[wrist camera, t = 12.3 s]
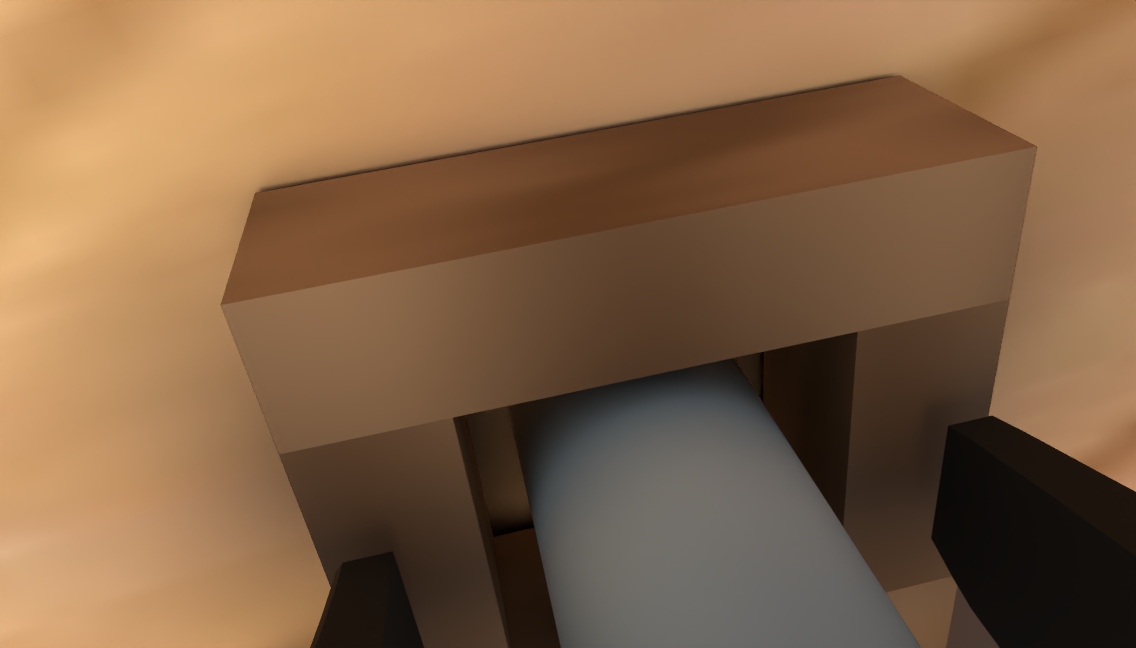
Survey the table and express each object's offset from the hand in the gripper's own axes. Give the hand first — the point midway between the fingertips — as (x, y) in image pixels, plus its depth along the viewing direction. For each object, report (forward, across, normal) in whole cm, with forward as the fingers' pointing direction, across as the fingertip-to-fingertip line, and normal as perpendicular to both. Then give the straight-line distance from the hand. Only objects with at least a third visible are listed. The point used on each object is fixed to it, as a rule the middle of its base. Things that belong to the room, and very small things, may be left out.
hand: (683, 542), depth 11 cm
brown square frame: (+4, 0, 0) cm, 4 cm away
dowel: (+4, 0, 0) cm, 4 cm away
